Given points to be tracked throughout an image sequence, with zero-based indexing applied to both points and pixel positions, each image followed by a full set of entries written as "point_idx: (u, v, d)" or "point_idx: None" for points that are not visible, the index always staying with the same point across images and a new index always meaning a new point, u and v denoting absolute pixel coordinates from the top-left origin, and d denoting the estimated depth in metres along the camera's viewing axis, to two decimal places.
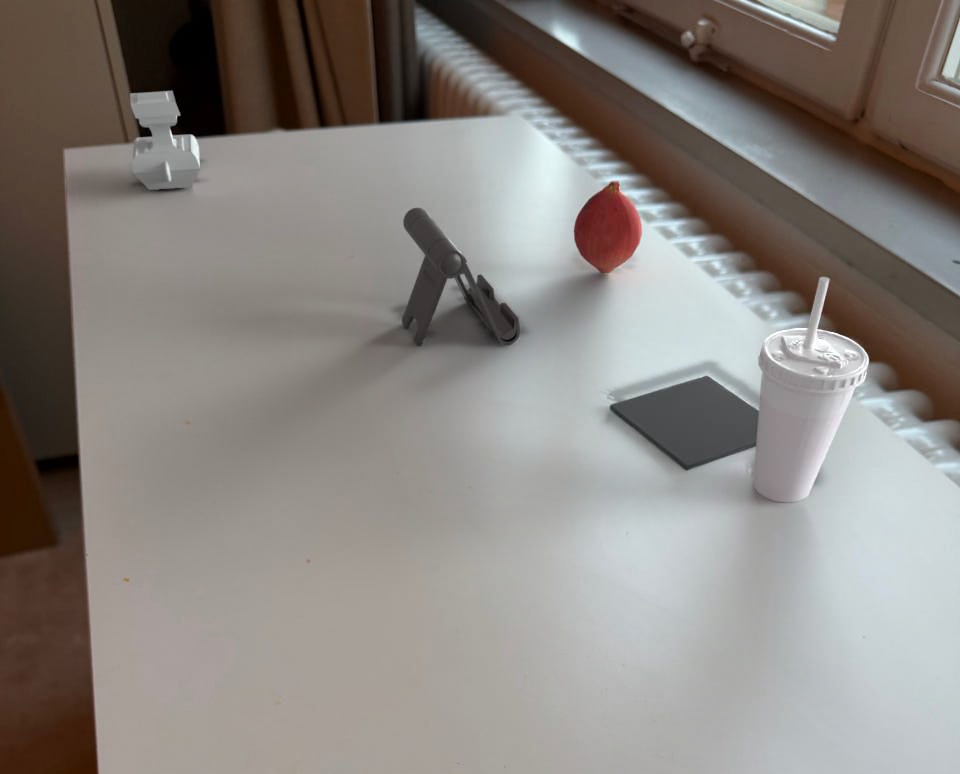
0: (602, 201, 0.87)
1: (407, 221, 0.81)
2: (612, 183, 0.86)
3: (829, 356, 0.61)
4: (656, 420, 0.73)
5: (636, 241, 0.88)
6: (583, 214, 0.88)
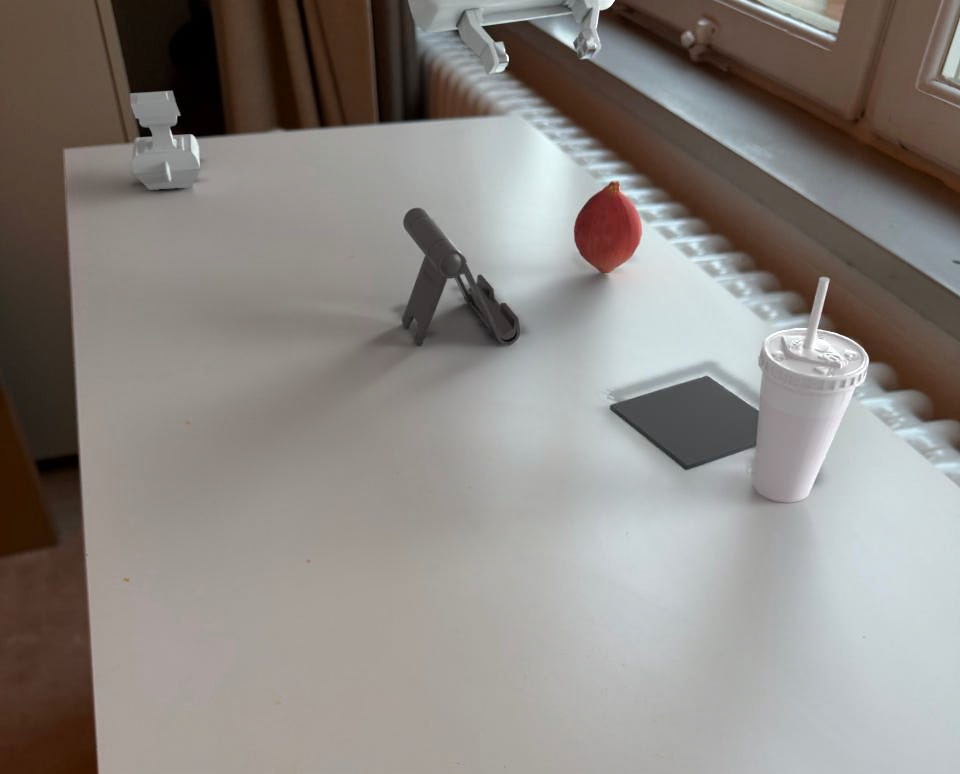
0: (602, 201, 0.87)
1: (407, 221, 0.81)
2: (613, 183, 0.86)
3: (829, 356, 0.61)
4: (656, 420, 0.73)
5: (636, 241, 0.88)
6: (583, 214, 0.88)
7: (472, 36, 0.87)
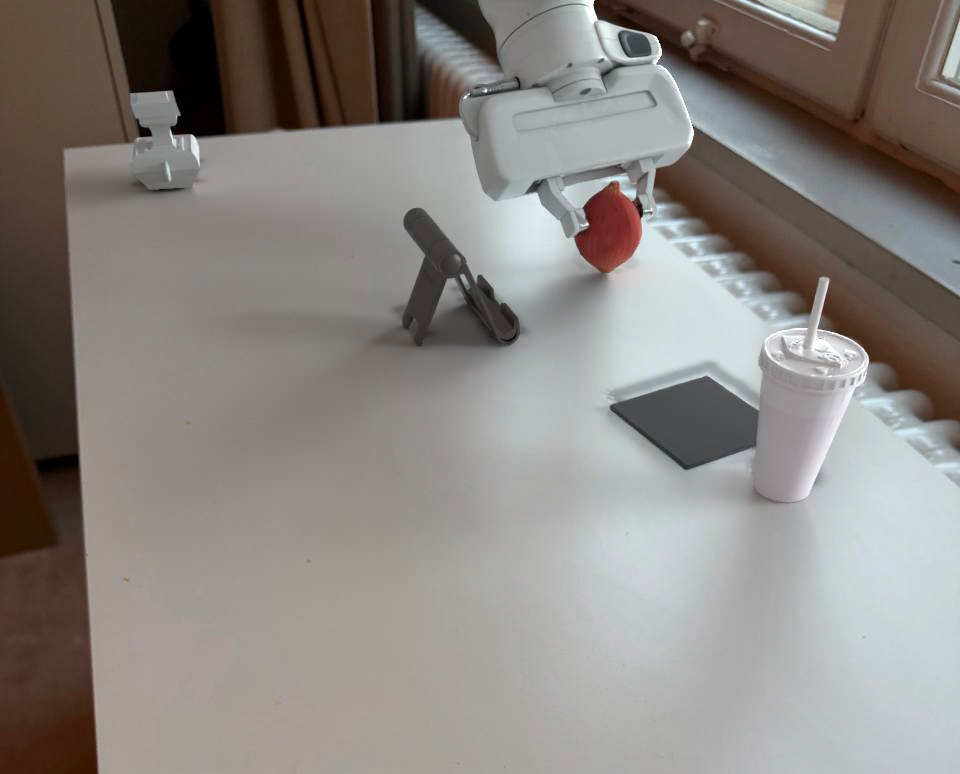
0: (602, 201, 0.87)
1: (407, 221, 0.81)
2: (613, 183, 0.86)
3: (829, 356, 0.61)
4: (656, 420, 0.73)
5: (636, 241, 0.88)
6: None
7: (553, 203, 0.87)
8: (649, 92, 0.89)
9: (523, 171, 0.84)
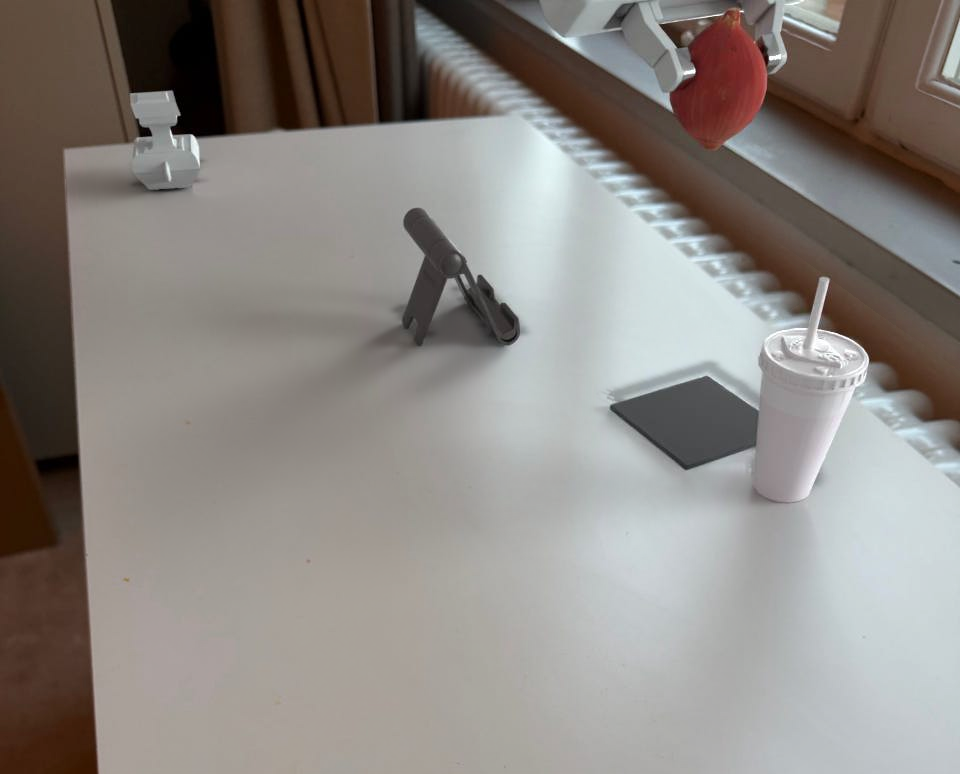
0: (714, 37, 0.61)
1: (407, 221, 0.81)
2: (730, 11, 0.61)
3: (829, 356, 0.61)
4: (656, 420, 0.73)
5: (760, 98, 0.63)
6: None
7: (645, 40, 0.61)
8: None
9: None
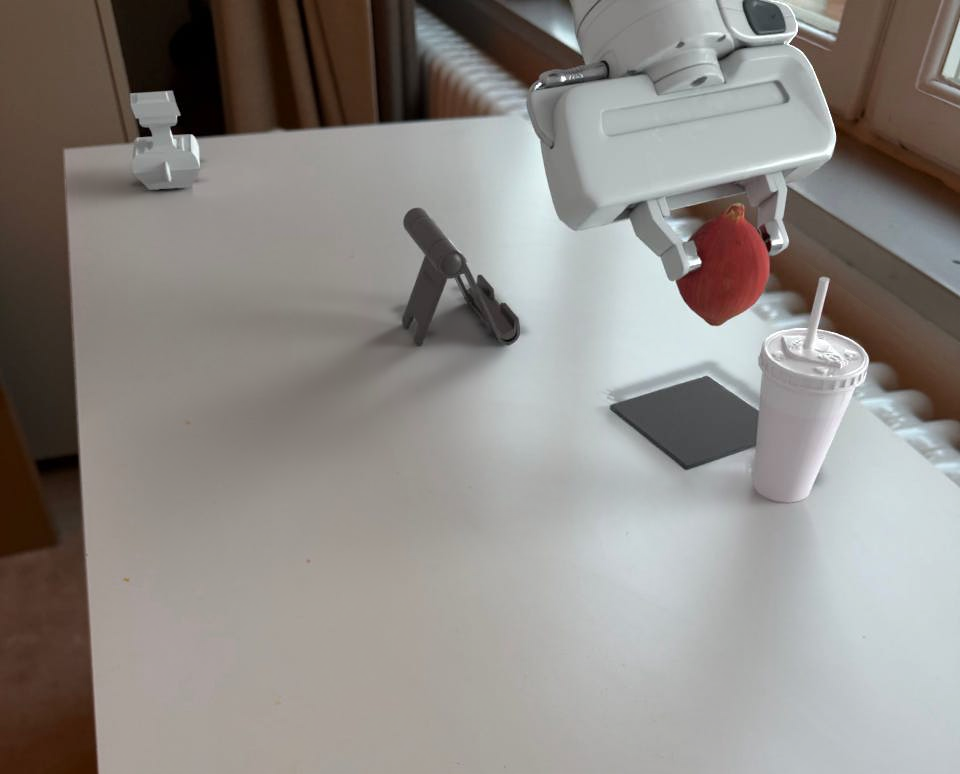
0: (719, 231, 0.63)
1: (407, 221, 0.81)
2: (735, 207, 0.63)
3: (829, 356, 0.61)
4: (656, 420, 0.73)
5: (763, 285, 0.65)
6: None
7: (653, 233, 0.63)
8: (779, 83, 0.66)
9: (616, 191, 0.61)
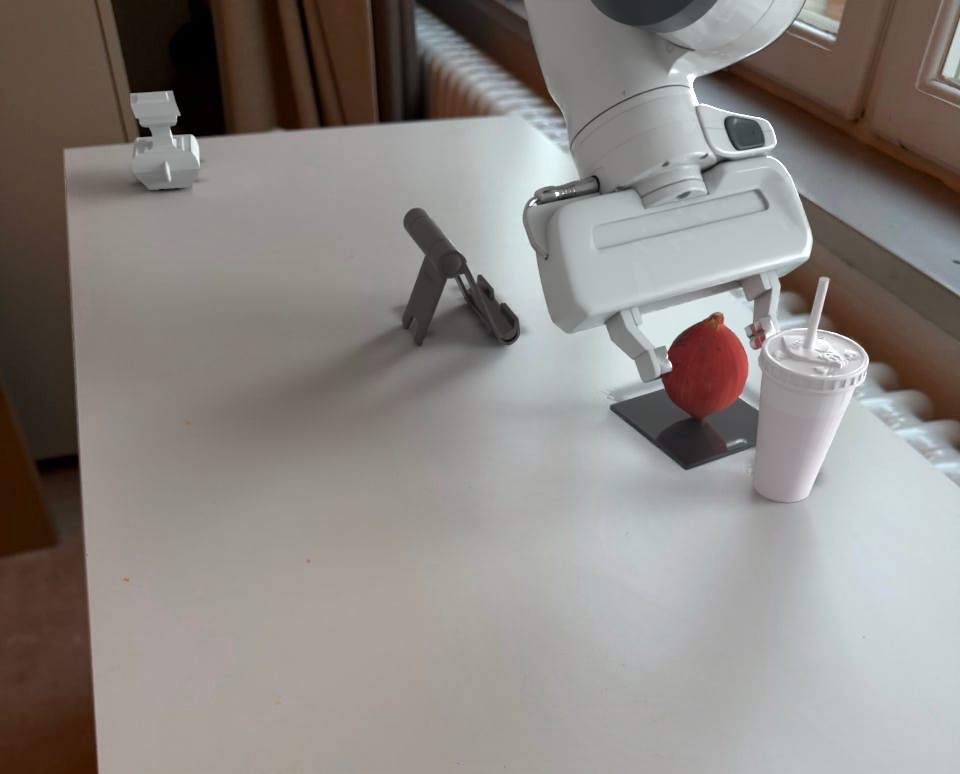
0: (701, 338, 0.68)
1: (407, 221, 0.81)
2: (715, 316, 0.68)
3: (829, 356, 0.61)
4: (656, 420, 0.73)
5: (742, 385, 0.70)
6: (675, 352, 0.70)
7: (626, 340, 0.68)
8: (759, 191, 0.71)
9: (606, 300, 0.65)
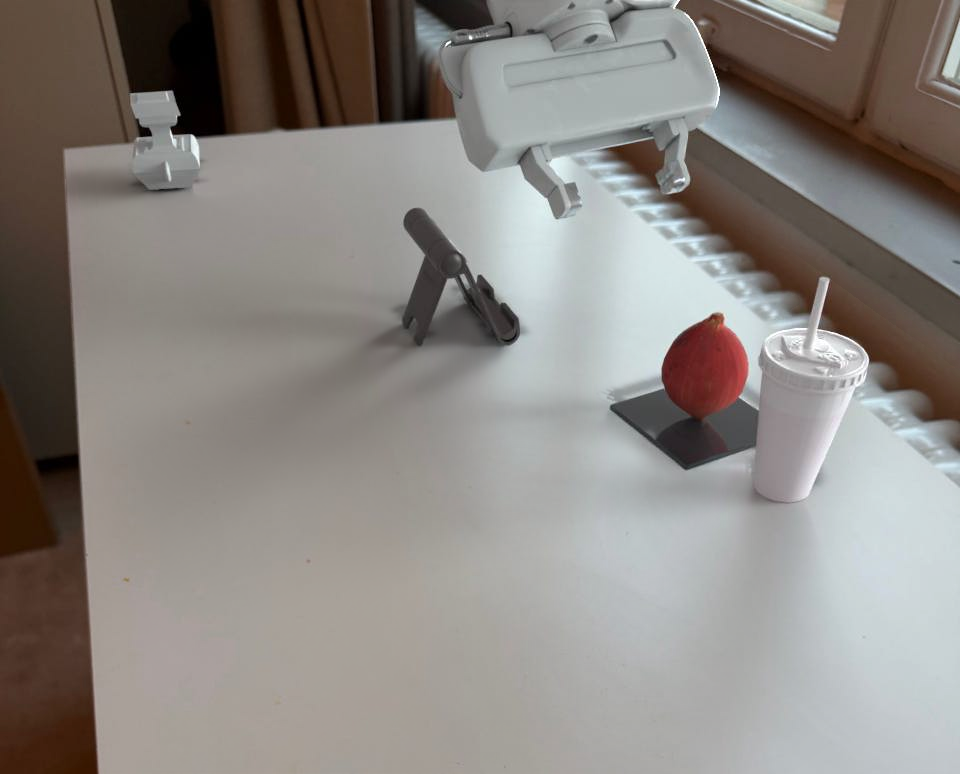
0: (701, 338, 0.68)
1: (407, 221, 0.81)
2: (715, 316, 0.68)
3: (829, 356, 0.61)
4: (656, 420, 0.73)
5: (742, 385, 0.70)
6: (675, 352, 0.70)
7: (538, 176, 0.72)
8: (667, 42, 0.75)
9: (516, 134, 0.69)
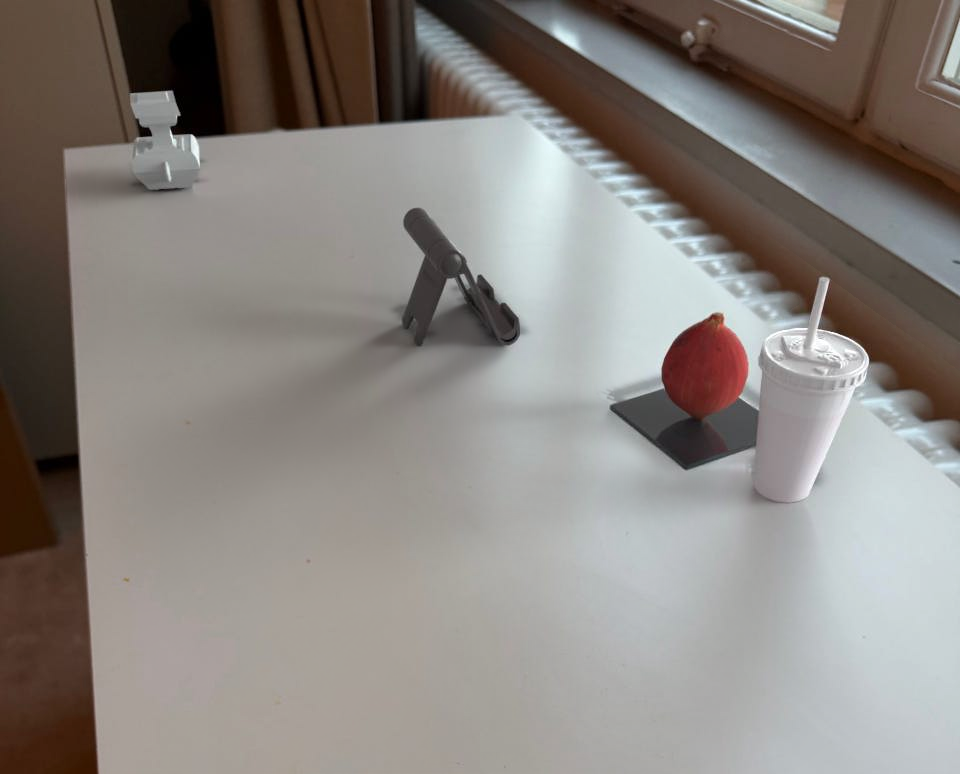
0: (701, 338, 0.68)
1: (407, 221, 0.81)
2: (715, 316, 0.68)
3: (829, 356, 0.61)
4: (656, 420, 0.73)
5: (742, 385, 0.70)
6: (675, 352, 0.70)
7: None
8: None
9: None
